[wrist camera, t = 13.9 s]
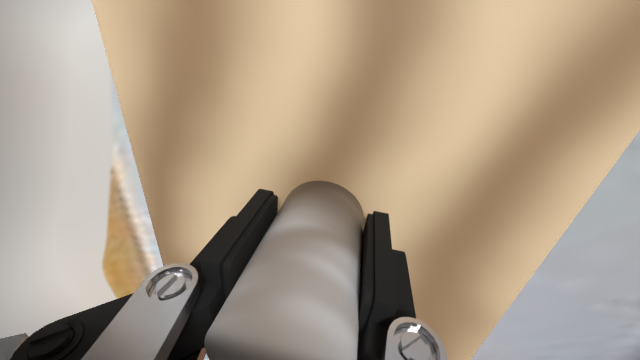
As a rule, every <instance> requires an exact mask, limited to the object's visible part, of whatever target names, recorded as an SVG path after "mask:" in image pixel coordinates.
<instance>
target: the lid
mask: <svg viewBox="0 0 640 360" xmlns="http://www.w3.org/2000/svg"><path fill="white" fill-rule="evenodd" d="M92 3H93V6H94V10H95V14H96V17H97V21H98V25H99V28H100V32H101V36H102V40H103V43H104V47H105V51H106V55H107V58H108V62H109V66H110V69H111V73H112V77H113V80H114V84H115V88H116V92H117V95H118V99H119V103H120V106H121V110H122V114H123V118H124V121H125V125H126V129H127V132H128V136H129V140H130V143H131V147H132V151H133V155H134V158H135V162H136V166H137V169H138V173H139V177H140V181H141V184H142V188H143V192H144V195H145V199H146V203H147V206H148V210H149V214H150V218H151V221H152V225H153V229H154V232H155V236H156V240H157V244H158V247H159V251H160V255H161V258H162V262H163V266H166V265H169V264H174V263H185V264H190V263H191V262H192V261H193V260H194V258H195V257H196V256H197V255H198V254H199V253H200V251H201V250H202V249H203V248H204V247H205V246H206V245H207V243H208V242H209V241H210V240H211V239H212V238H213V236H214V235H215V234H216V233H217V232H218V231H219V229H220V228H221V227H222V226H223V225H224V224H225V222H226V221H227V220H228V219H229V218H230V217H231V216H237V215H238V213H239V212H240V211H241V210H242V209H243V207H244V206H245V205H246V204H247V203H248V201H249V200H250V199H251V198H252V197H253V195H254V194H255V193H256V192H257V191H258V190H259V189H264V190H269V191H273V192H274V195H277V196H278V212H277V215H276V217H275V218H274V220H273V222H272V223H271V225H270V227H269V228H268V230H267V232H266V233H265V235H264V237H263V239H262V240H261V242H260V244H259V245H258V247H257V249H256V250H255V252H254V254H253V255H252V257H251V259H250V261H249V262H248V264H247V266H246V267H245V269H244V271H243V272H242V274H241V276H240V277H239V279H238V281H237V283H236V284H235V286H234V288H233V289H232V291H231V293H230V294H229V296H228V298H227V300H226V301H225V303H224V305H223V306H222V308H221V310H220V311H219V313H218V315H217V316H216V318H215V320H214V322H213V323H212V325H211V327H210V328H209V330H208V332H207V334H206V336H205V341H204V344H205V350H206V353H207V355H208V357H209V359H210V360H357V350H358V330H359V328H358V322H359V303H360V284H361V265H362V245H363V231H364V227H365V223H366V218H367V215H368V213H369V214H373V212H374V211H378V212H383V213H388V214H389V222H390V232H391V243H392V249H394V250H399V251H404V252H405V254H406V259H407V265H408V271H409V277H410V283H411V289H412V296H413V302H414V308H415V314H416V319H418V320H420V321H422V322H424V323H426V324H427V325H428V326H429V327H431V328H432V329H433V330H434V331H435V333H436V334H437V335H438V336H439V337H440V339H441V341H442V343H443V345H444V347H445V351H446V355H447V360H470V359H471V358H472V357H473V355H474V354H475V352H476V351H477V350H478V348H479V347H480V346H481V344H482V343H483V342H484V340H485V339H486V338H487V336H488V335H489V333H490V332H491V331H492V329H493V328H494V327H495V325H496V324H497V323H498V321H499V320H500V319H501V317H502V316H503V314H504V313H505V312H506V310H507V309H508V308H509V306H510V305H511V304H512V302H513V301H514V300H515V298H516V297H517V295H518V294H519V293H520V291H521V290H522V289H523V287H524V286H525V285H526V283H527V282H528V281H529V279H530V278H531V277H532V275H533V274H534V272H535V271H536V270H537V268H538V267H539V266H540V264H541V263H542V262H543V260H544V259H545V258H546V256H547V255H548V253H549V252H550V251H551V249H552V248H553V247H554V245H555V244H556V243H557V241H558V240H559V239H560V237H561V236H562V234H563V233H564V232H565V230H566V229H567V228H568V226H569V225H570V224H571V222H572V221H573V220H574V218H575V217H576V215H577V214H578V213H579V211H580V210H581V209H582V207H583V206H584V205H585V203H586V202H587V201H588V199H589V198H590V196H591V195H592V194H593V192H594V191H595V190H596V188H597V187H598V186H599V184H600V183H601V182H602V180H603V179H604V177H605V176H606V175H607V173H608V172H609V171H610V169H611V168H612V167H613V165H614V164H615V163H616V161H617V160H618V159H619V157H620V156H621V154H622V153H623V152H624V150H625V149H626V148H627V146H628V145H629V144H630V142H631V141H632V140H633V138H634V137H635V135H636V134H637V133H638V131H639V130H640V0H92Z"/></svg>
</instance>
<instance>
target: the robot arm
mask: <svg viewBox="0 0 640 360" xmlns="http://www.w3.org/2000/svg"><path fill="white" fill-rule="evenodd" d="M277 212H278V196H277V195H274V192H273V191H269V190H264V189H259V190H258V191H257V192H256V193H255V194H254V195H253V197H252V198H251V199H250V200H249V201H248V203H247V204H246V205H245V206H244V207H243V209H242V210H241V211H240V212H239V213H238V215H237V216H231V217H230V218H229V219H228V220H227V221H226V222H225V224H224V225H223V226H222V227H221V228H220V229H219V231H218V232H217V233H216V234H215V235H214V236H213V238H212V239H211V240H210V241H209V242H208V243H207V245H206V246H205V247H204V248H203V249H202V250H201V251H200V253H199V254H198V255H197V256H196V257H195V258H194V260H193V261H192V262H191V263H190V264H185V263H174V264H169V265H166V266H164V267H161V268H159V269H157V270H156V271H154V272H153V273H151V274H150V275H149V276H148V277H147V278H146V279H145V280H144V281H143V282H142V284H141V285H140V286H139V287H138V289H137V290H136V291H135V292H134V293H133V294H130V295H127V296H124V297H122V298H119V299H116V300H113V301H110V302H107V303H105V304H102V305H99V306H96V307H93V308H91V309H88V310H85V311H82V312H79V313H77V314H74V315H71V316H68V317H65V318H63V319H60V320H57V321H55V322H53V323H50V324H48V325H46V326H44V327H43V328H41V329H40V330H38V331H36V332H35V333H33V334H32V335H31V336H30V337H28V336H27V334H26V333H24V334H20V335H15V336H10V337H6V338H2V339H0V360H203V359H204V357H205V355H206V350H205V344H204V341H205V336H206V334H207V332H208V330H209V328H210V327H211V325H212V323H213V322H214V320H215V318H216V316H217V315H218V313H219V311H220V310H221V308H222V306H223V305H224V303H225V301H226V300H227V298H228V296H229V294H230V293H231V291H232V289H233V288H234V286H235V284H236V283H237V281H238V279H239V277H240V276H241V274H242V272H243V271H244V269H245V267H246V266H247V264H248V262H249V261H250V259H251V257H252V255H253V254H254V252H255V250H256V249H257V247H258V245H259V244H260V242H261V240H262V239H263V237H264V235H265V233H266V232H267V230H268V228H269V227H270V225H271V223H272V222H273V220H274V218H275V217H276V215H277ZM358 328H359V330H358V350H357V360H447V355H446V351H445V347H444V345H443V343H442V341H441V339H440V337H439V336H438V335H437V334H436V333H435V331H434V330H433V329H432V328H431V327H429V326H428V325H427V324H426V323H424V322H422V321H420V320H418V319H416V314H415V308H414V302H413V296H412V289H411V283H410V277H409V271H408V265H407V259H406V254H405V252H404V251H399V250H394V249H392V243H391V232H390V222H389V214H388V213H383V212H378V211H374V212H373V214H369V213H368V215H367V218H366V223H365V227H364V231H363V245H362V265H361V284H360V303H359V322H358Z"/></svg>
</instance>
